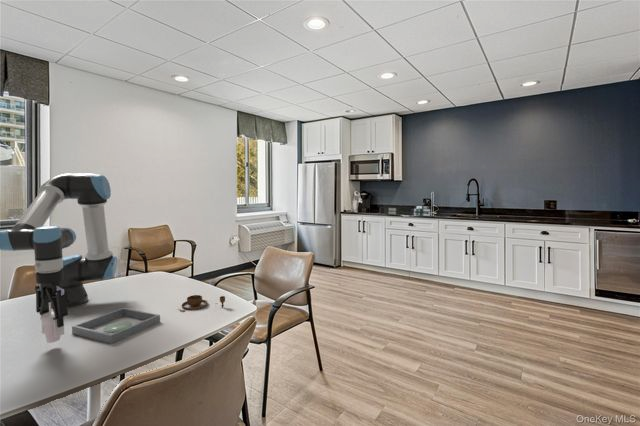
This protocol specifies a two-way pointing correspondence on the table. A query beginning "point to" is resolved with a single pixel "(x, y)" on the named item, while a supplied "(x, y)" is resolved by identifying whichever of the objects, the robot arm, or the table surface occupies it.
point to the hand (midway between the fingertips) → (53, 333)
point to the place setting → (197, 302)
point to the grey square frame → (115, 325)
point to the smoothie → (49, 325)
